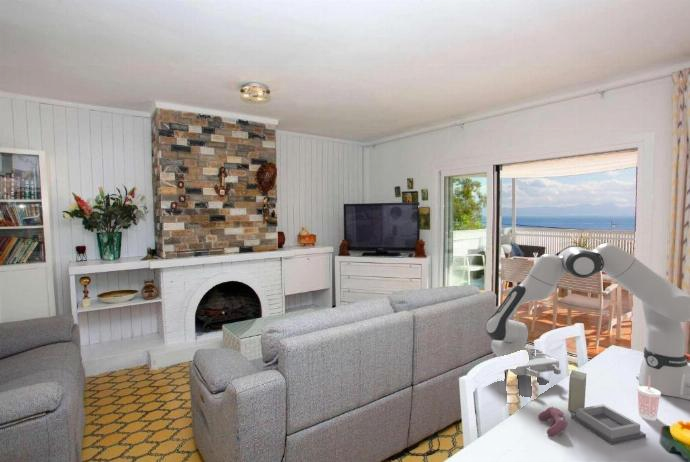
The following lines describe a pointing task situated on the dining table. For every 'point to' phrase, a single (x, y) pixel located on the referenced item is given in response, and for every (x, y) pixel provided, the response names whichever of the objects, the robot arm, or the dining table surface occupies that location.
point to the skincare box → (576, 391)
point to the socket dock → (608, 424)
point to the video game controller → (554, 420)
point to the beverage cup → (648, 401)
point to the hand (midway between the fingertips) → (548, 373)
